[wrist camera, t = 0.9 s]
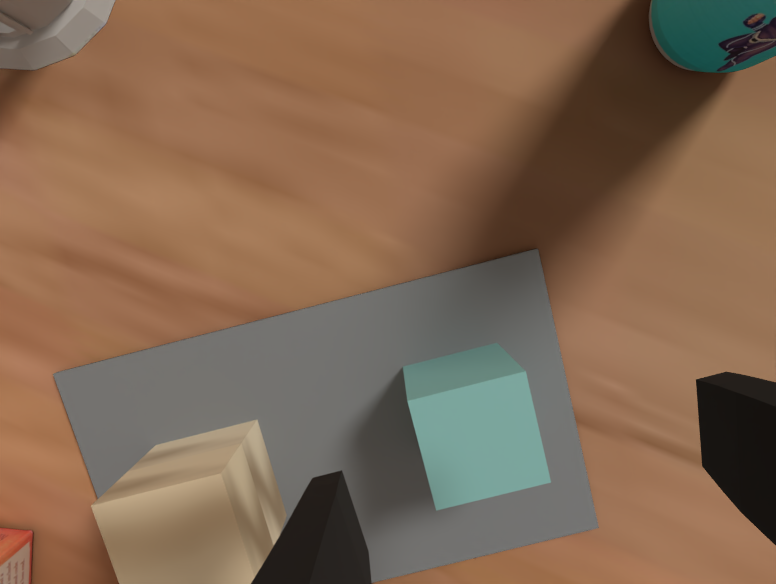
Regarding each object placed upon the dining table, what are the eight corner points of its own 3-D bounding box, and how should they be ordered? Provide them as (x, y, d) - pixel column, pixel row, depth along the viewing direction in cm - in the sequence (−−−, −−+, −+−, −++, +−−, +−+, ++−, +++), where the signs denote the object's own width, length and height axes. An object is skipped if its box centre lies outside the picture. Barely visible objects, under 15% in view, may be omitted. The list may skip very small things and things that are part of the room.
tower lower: (286, 515, 23) (275, 549, 21) (187, 539, 23) (164, 576, 21) (257, 419, 22) (241, 442, 20) (155, 445, 22) (127, 471, 20)
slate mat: (596, 524, 24) (598, 527, 23) (150, 632, 24) (147, 637, 24) (535, 248, 22) (537, 248, 21) (57, 372, 22) (53, 374, 22)
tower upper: (275, 549, 21) (260, 593, 18) (164, 576, 21) (133, 624, 18) (241, 442, 20) (221, 473, 17) (127, 471, 20) (90, 505, 18)
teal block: (518, 432, 23) (551, 482, 18) (426, 455, 23) (436, 510, 18) (497, 342, 22) (525, 371, 18) (402, 366, 22) (407, 400, 18)
